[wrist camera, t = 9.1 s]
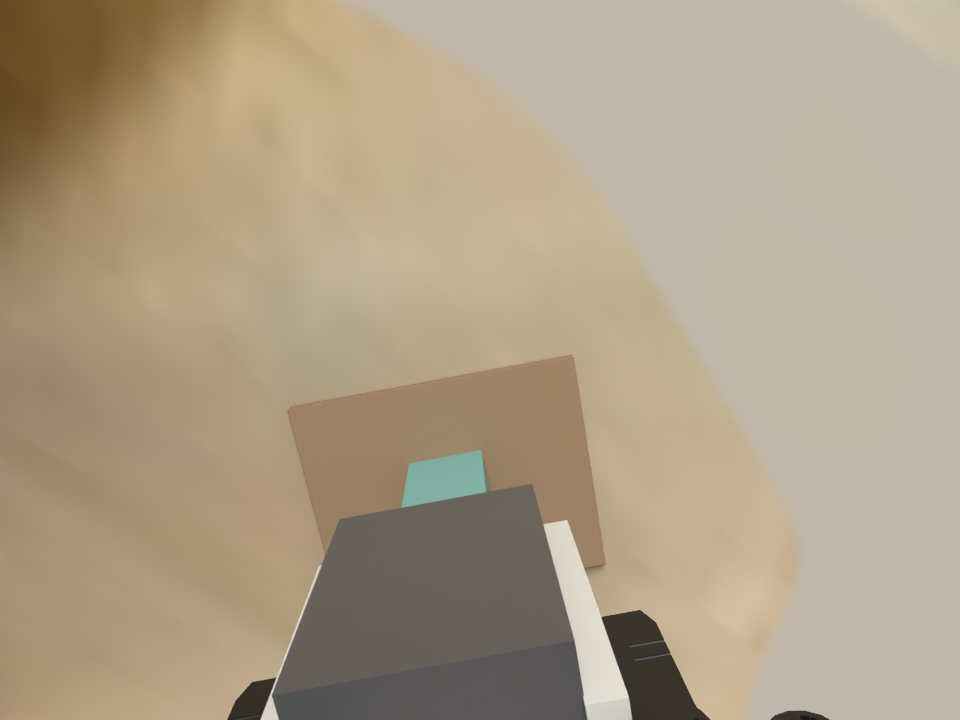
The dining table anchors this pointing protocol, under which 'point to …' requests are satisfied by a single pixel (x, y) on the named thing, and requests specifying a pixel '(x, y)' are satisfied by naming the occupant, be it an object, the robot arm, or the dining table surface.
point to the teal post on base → (453, 447)
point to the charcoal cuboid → (436, 619)
